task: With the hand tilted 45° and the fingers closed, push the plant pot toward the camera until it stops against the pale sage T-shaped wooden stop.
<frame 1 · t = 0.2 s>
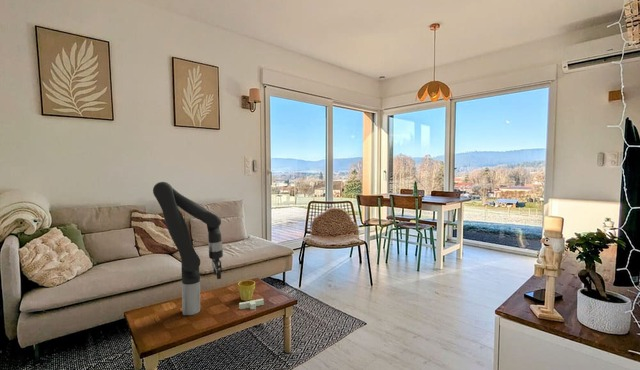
hand: (217, 276, 178), 18 cm above the table, tool pointing down, fingers open, 8 cm apart
plant pot: (246, 298, 191), on the table
t stop: (251, 306, 180), on the table
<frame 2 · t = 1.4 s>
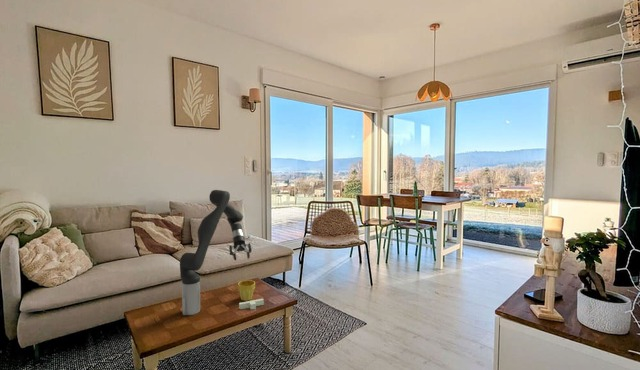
hand: (242, 259, 202), 21 cm above the table, tool tilted 45°, fingers open, 8 cm apart
nothing on the table moved.
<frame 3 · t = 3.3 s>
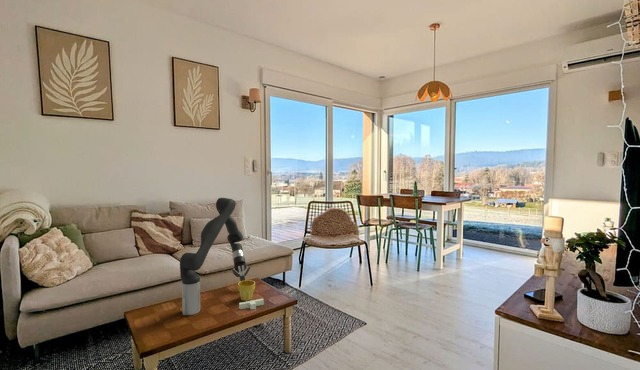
hand: (243, 281, 200), 7 cm above the table, tool tilted 45°, fingers closed
nothing on the table moved.
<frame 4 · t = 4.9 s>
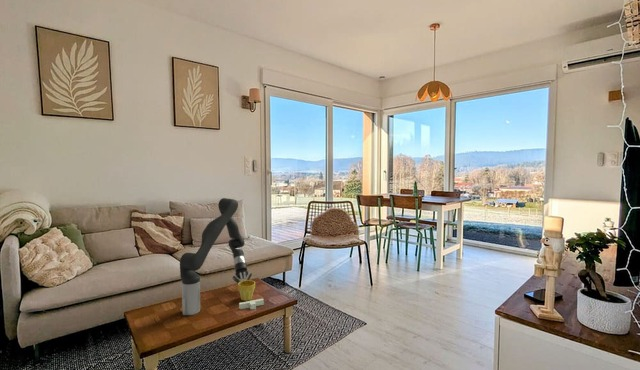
hand: (244, 288, 195), 4 cm above the table, tool tilted 45°, fingers closed
plant pot: (246, 298, 191), on the table, touching gripper
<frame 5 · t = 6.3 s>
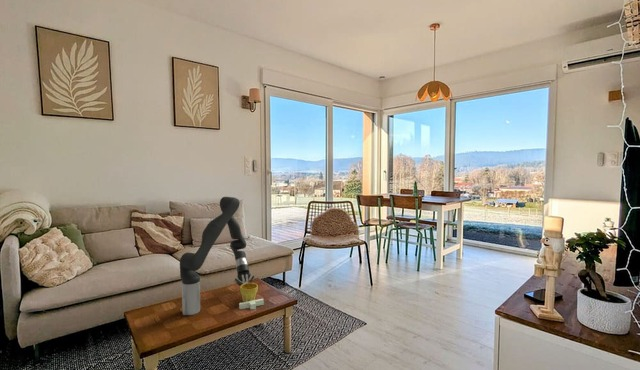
hand: (246, 291, 191), 4 cm above the table, tool tilted 45°, fingers closed
plant pot: (248, 302, 187), on the table, touching gripper
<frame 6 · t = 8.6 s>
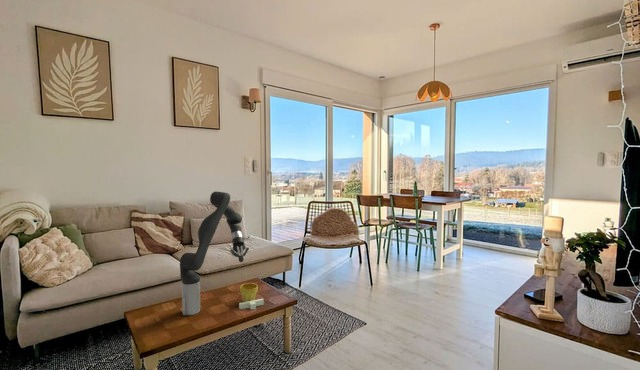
hand: (241, 261, 202), 19 cm above the table, tool tilted 45°, fingers closed
plant pot: (248, 302, 186), on the table
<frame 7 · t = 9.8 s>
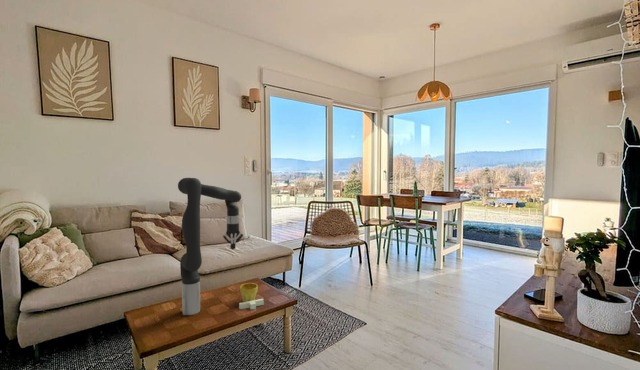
hand: (233, 249, 196), 29 cm above the table, tool pointing down, fingers closed
nothing on the table moved.
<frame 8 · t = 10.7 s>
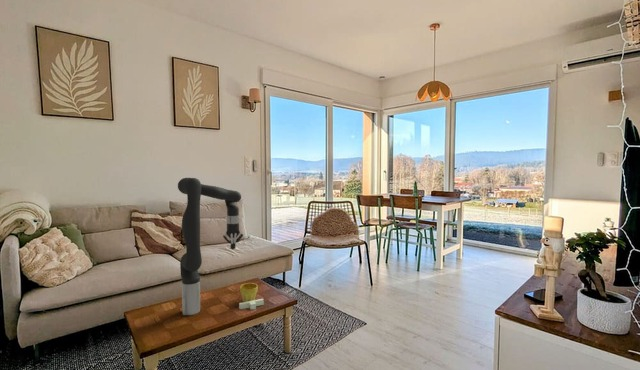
hand: (233, 249, 196), 29 cm above the table, tool pointing down, fingers closed
nothing on the table moved.
at the end: plant pot inside the target area (0.8 cm from its centre), on the table; plant pot tilted 0°; plant pot moved 5.2 cm from its start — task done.
